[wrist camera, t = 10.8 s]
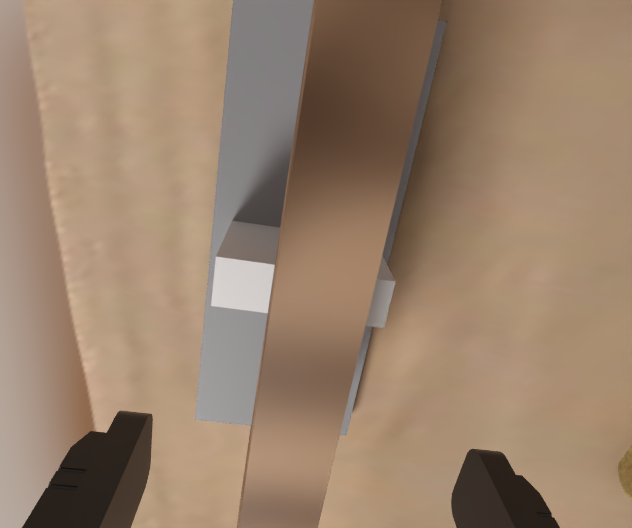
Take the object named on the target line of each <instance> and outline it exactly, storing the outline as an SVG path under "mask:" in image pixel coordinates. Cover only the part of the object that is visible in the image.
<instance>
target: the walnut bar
mask: <svg viewBox="0 0 632 528" xmlns="http://www.w3.org/2000/svg"><path fill="white" fill-rule="evenodd" d="M442 1H443V0H314V1H313V8H312V15H311V22H310V29H309V35H308V42H307V49H306V56H305V63H304V69H303V76H302V83H301V90H300V97H299V103H298V110H297V117H296V124H295V131H294V137H293V144H292V151H291V158H290V165H289V171H288V178H287V185H286V192H285V199H284V205H283V212H282V219H281V226H280V233H279V239H278V246H277V253H276V260H275V267H274V273H273V280H272V287H271V294H270V301H269V307H268V314H267V321H266V328H265V335H264V341H263V348H262V355H261V362H260V369H259V376H258V382H257V389H256V396H255V403H254V410H253V416H252V423H251V430H250V437H249V444H248V450H247V457H246V464H245V471H244V478H243V484H242V491H241V499H240V507H239V514H238V522H237V528H318V524H319V520H320V516H321V512H322V507H323V503H324V499H325V495H326V490H327V486H328V482H329V478H330V474H331V469H332V465H333V461H334V457H335V453H336V448H337V444H338V440H339V436H340V431H341V427H342V423H343V419H344V415H345V410H346V406H347V402H348V398H349V393H350V389H351V385H352V381H353V377H354V372H355V368H356V364H357V360H358V355H359V351H360V347H361V343H362V339H363V334H364V330H365V326H366V322H367V318H368V313H369V309H370V305H371V301H372V296H373V292H374V288H375V284H376V280H377V275H378V271H379V267H380V263H381V258H382V254H383V250H384V246H385V242H386V237H387V233H388V229H389V225H390V220H391V216H392V212H393V208H394V204H395V199H396V195H397V191H398V187H399V183H400V178H401V174H402V170H403V166H404V161H405V157H406V153H407V149H408V145H409V140H410V136H411V132H412V128H413V123H414V119H415V115H416V111H417V107H418V102H419V98H420V94H421V90H422V85H423V81H424V77H425V73H426V69H427V64H428V60H429V56H430V52H431V48H432V43H433V39H434V35H435V31H436V26H437V22H438V18H439V14H440V10H441V5H442Z"/></svg>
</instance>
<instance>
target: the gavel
mask: <svg viewBox="0 0 632 528" xmlns="http://www.w3.org/2000/svg"><path fill="white" fill-rule="evenodd" d="M618 470H619V478H620V482H621V485H622V487H623V489H624V491H625V493H626V494H627V495H628V497H629V498H630V499H631V500H632V446H631V447H630V449H629V450H628V451H627V453H626V454H625V455H624V457H623V458H622V460H621V461H620V463H619V467H618Z"/></svg>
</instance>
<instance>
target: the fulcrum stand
mask: <svg viewBox="0 0 632 528" xmlns="http://www.w3.org/2000/svg"><path fill="white" fill-rule="evenodd" d="M313 1H314V0H233V8H232V19H231V30H230V41H229V52H228V63H227V74H226V85H225V96H224V107H223V118H222V129H221V140H220V151H219V162H218V173H217V184H216V195H215V206H214V217H213V228H212V239H211V250H210V261H209V272H208V283H207V294H206V305H205V316H204V327H203V338H202V349H201V360H200V371H199V382H198V393H197V404H196V415H195V420H201V421H211V422H221V423H230V424H240V425H250V426H251V423H252V416H253V410H254V403H255V396H256V389H257V382H258V376H259V369H260V362H261V355H262V348H263V341H264V335H265V328H266V321H267V314H268V307H269V301H270V294H271V287H272V280H273V273H274V267H275V260H276V253H277V246H278V239H279V233H280V226H281V219H282V212H283V205H284V199H285V192H286V185H287V178H288V171H289V165H290V158H291V151H292V144H293V137H294V131H295V124H296V117H297V110H298V103H299V97H300V90H301V83H302V76H303V69H304V63H305V56H306V49H307V42H308V35H309V29H310V22H311V15H312V8H313ZM446 24H447V21H442V20H438V22H437V26H436V31H435V35H434V39H433V43H432V48H431V52H430V56H429V60H428V64H427V69H426V73H425V77H424V81H423V85H422V90H421V94H420V98H419V102H418V107H417V111H416V115H415V119H414V123H413V128H412V132H411V136H410V140H409V145H408V149H407V153H406V157H405V161H404V166H403V170H402V174H401V178H400V183H399V187H398V191H397V195H396V199H395V204H394V208H393V212H392V216H391V220H390V225H389V229H388V233H387V237H386V242H385V246H384V250H383V254H382V258H381V263H380V267H379V271H378V275H377V280H376V284H375V288H374V292H373V296H372V301H371V305H370V309H369V313H368V318H367V322H366V326H365V330H364V334H363V339H362V343H361V347H360V351H359V355H358V360H357V364H356V368H355V372H354V377H353V381H352V385H351V389H350V393H349V398H348V402H347V406H346V410H345V415H344V419H343V423H342V427H341V431H340V435H346V434H347V430H348V426H349V422H350V418H351V414H352V410H353V405H354V401H355V397H356V393H357V389H358V385H359V381H360V377H361V373H362V369H363V364H364V360H365V356H366V352H367V348H368V344H369V340H370V336H371V332H372V327H378V328H384V326H385V322H386V318H387V314H388V310H389V306H390V302H391V298H392V294H393V290H394V287H395V283H396V281H395V279H394V277H393V275H392V273H391V271H390V269H389V267H388V262H389V258H390V254H391V250H392V245H393V241H394V237H395V233H396V229H397V225H398V221H399V217H400V213H401V208H402V204H403V200H404V196H405V192H406V188H407V184H408V180H409V176H410V172H411V167H412V163H413V159H414V155H415V151H416V147H417V143H418V139H419V135H420V130H421V126H422V122H423V118H424V114H425V110H426V106H427V102H428V98H429V94H430V89H431V85H432V81H433V77H434V73H435V69H436V65H437V61H438V57H439V53H440V48H441V44H442V40H443V36H444V32H445V28H446Z"/></svg>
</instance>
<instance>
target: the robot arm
mask: <svg viewBox="0 0 632 528" xmlns="http://www.w3.org/2000/svg"><path fill="white" fill-rule="evenodd" d="M152 421H153V419H152V414H147V413H137V412H128V411H119V412H118V413H117V415H116V416H115V418H114V420H113V422H112V424H111V426H110V428H109V430H108V431H107V433H103V432H93V431H90V432H89V433H88V434H87V435H85V436H84V437H83V438H82V439H81V440H79V441H78V442H77V443H76V444H74V445H73V446H72V447H71V448H70V450H69V452H68V453H67V455H66V456H65V458H64V460H63V461H62V463H61V465H60V467H59V470H58V471H56V473H55V475H54V476H53V478H52V479H51V481H50V483H49V486H48V488H46V489H45V491H44V493H43V494H42V496H41V498H40V499H39V501H38V502H37V504H36V506H35V507H34V509H33V511H32V512H31V514H30V516H29V517H28V519H27V521H26V522H25V524H24V526H23V527H22V528H131V525H132V522H133V520H134V517H135V514H136V511H137V509H138V506H139V503H140V501H141V498H142V495H143V492H144V490H145V487H146V483H147V479H148V475H149V470H150V462H151V443H152ZM451 505H452V514H453V518H454V521H455V524H456V527H457V528H560V527H559V525H558V524H557V522H556V520H555V518H552V516H551V514H552V513H551V512H550V510H549V508H548V507H547V505H546V503H545V501H544V500H543V498H542V496H541V495H540V493H539V492H538V491H537V490H536V489H535V488H534V487H533V486H532V485H531V484H530V483H529V482H528V481H527V480H526V479H525V478H524V477H523V476H521V475H515V473H514V471H513V469H512V467H511V466H510V464H509V462H508V460H507V458H506V457H505V455H504V454H503V453H501V452H498V451H488V450H479V449H471V450H469V452H468V453H467V455H466V458H465V461H464V463H463V466H462V468H461V471H460V474H459V476H458V479H457V482H456V484H455V487H454V490H453V493H452V501H451Z"/></svg>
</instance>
